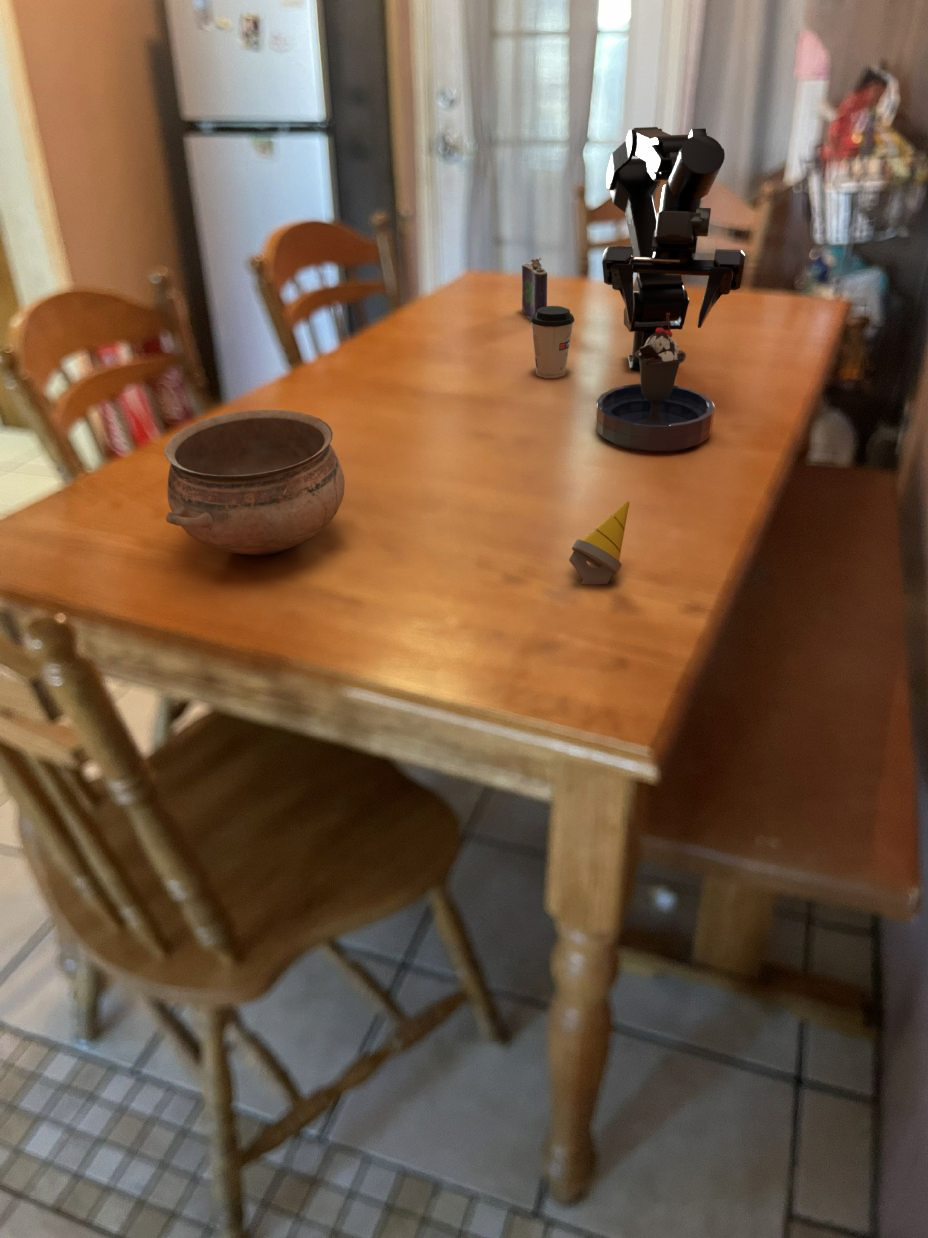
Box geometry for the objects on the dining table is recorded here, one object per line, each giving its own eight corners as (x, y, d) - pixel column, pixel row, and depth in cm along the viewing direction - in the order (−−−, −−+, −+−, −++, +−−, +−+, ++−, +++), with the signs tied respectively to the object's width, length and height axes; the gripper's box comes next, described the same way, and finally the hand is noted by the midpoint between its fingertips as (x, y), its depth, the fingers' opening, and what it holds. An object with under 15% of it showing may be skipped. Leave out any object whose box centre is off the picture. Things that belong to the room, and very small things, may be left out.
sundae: (669, 416, 129) (681, 307, 120) (683, 434, 123) (696, 322, 115) (623, 418, 128) (632, 310, 120) (635, 437, 123) (645, 325, 114)
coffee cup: (523, 377, 145) (523, 314, 140) (536, 364, 151) (538, 302, 145) (565, 382, 143) (567, 318, 137) (577, 368, 148) (580, 305, 143)
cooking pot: (258, 618, 90) (238, 507, 84) (123, 572, 98) (94, 468, 92) (396, 513, 108) (389, 415, 101) (272, 481, 116) (258, 388, 109)
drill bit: (555, 573, 97) (602, 492, 97) (599, 599, 97) (646, 517, 97) (560, 568, 91) (610, 483, 92) (606, 595, 91) (656, 509, 92)
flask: (519, 311, 176) (520, 253, 170) (533, 309, 177) (534, 251, 171) (536, 324, 169) (537, 264, 163) (551, 323, 169) (553, 262, 163)
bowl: (593, 411, 133) (594, 383, 131) (702, 411, 132) (705, 383, 129) (597, 455, 120) (599, 425, 118) (718, 456, 119) (722, 426, 117)
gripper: (608, 181, 121) (592, 289, 118) (754, 183, 116) (741, 295, 114) (611, 232, 131) (597, 332, 129) (746, 235, 127) (733, 339, 125)
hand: (664, 324), depth 124 cm, fingers open, 9 cm apart
